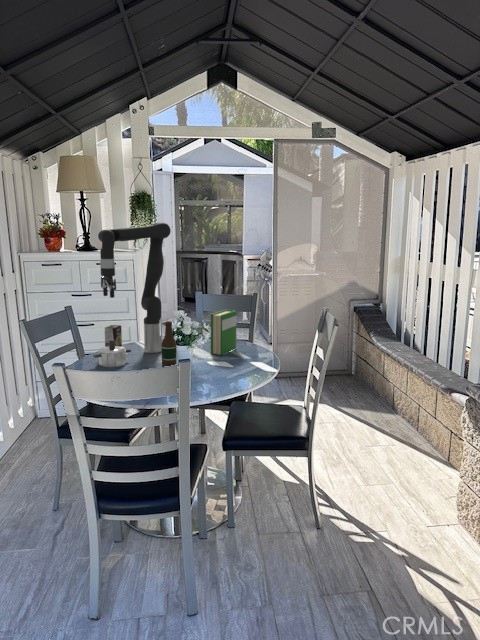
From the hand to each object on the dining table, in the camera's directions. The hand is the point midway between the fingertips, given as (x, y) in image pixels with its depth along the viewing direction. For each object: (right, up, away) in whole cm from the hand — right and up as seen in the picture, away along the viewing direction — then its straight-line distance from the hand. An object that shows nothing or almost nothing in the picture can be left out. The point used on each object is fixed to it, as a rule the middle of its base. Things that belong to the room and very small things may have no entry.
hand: (108, 296), depth 253 cm
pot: (+4, -36, -6) cm, 37 cm away
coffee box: (-1, -33, +13) cm, 35 cm away
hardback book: (+62, -32, +20) cm, 73 cm away
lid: (+4, -30, -8) cm, 31 cm away
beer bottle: (+35, -38, -10) cm, 52 cm away
